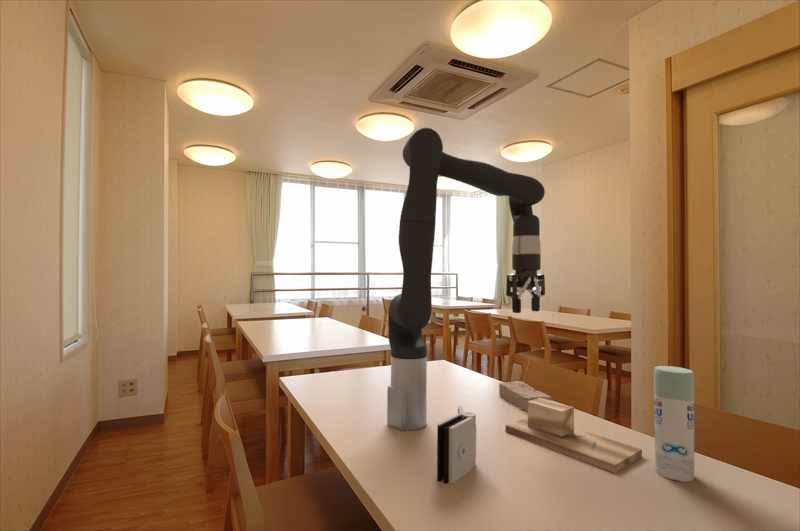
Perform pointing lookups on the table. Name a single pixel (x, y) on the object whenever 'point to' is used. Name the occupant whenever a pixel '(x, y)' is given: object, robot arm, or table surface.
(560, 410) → the block
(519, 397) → the brick
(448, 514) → the table surface
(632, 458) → the board
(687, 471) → the spray paint can
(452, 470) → the hinge
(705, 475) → the table surface
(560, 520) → the table surface
